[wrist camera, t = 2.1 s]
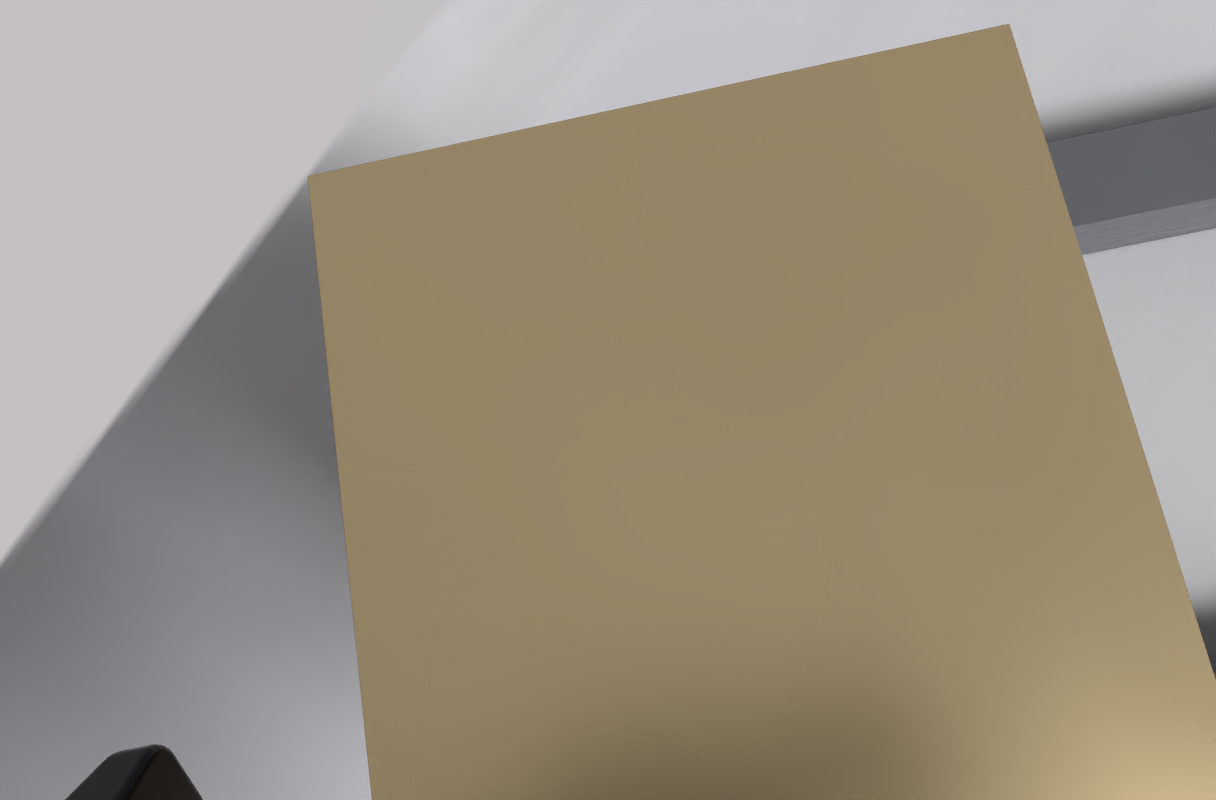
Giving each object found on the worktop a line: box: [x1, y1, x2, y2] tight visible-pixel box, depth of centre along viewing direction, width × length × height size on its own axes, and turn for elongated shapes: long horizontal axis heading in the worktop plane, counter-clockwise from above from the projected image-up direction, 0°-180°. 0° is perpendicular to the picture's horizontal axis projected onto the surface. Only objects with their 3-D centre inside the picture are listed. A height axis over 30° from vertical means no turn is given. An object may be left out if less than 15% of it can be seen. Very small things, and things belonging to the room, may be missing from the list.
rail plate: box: [1047, 107, 1216, 679], centre depth 15 cm, size 12×8×2 cm
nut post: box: [308, 24, 1216, 800], centre depth 11 cm, size 4×4×12 cm
